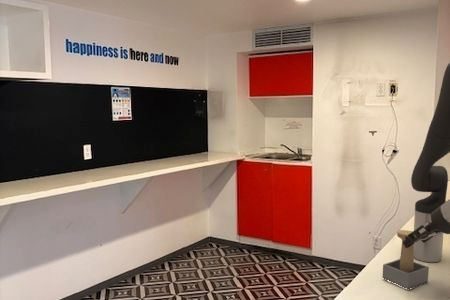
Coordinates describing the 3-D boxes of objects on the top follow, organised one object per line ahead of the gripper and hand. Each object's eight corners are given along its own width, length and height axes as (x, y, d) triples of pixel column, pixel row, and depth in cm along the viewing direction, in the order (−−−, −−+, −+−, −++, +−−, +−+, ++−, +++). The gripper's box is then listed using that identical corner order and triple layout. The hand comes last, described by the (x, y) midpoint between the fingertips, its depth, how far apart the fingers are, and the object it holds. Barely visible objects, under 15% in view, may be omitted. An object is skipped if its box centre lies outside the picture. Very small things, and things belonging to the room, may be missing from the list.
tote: (402, 272, 139) (402, 257, 138) (427, 282, 131) (428, 267, 130) (382, 279, 133) (383, 264, 133) (408, 290, 126) (409, 274, 125)
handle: (396, 274, 136) (399, 229, 134) (418, 279, 132) (421, 232, 130) (393, 279, 132) (395, 233, 130) (415, 284, 128) (418, 237, 126)
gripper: (458, 199, 123) (419, 227, 134) (429, 206, 116) (391, 235, 127) (475, 222, 120) (434, 248, 131) (447, 230, 112) (406, 258, 123)
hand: (413, 242), depth 129 cm, fingers open, 8 cm apart
